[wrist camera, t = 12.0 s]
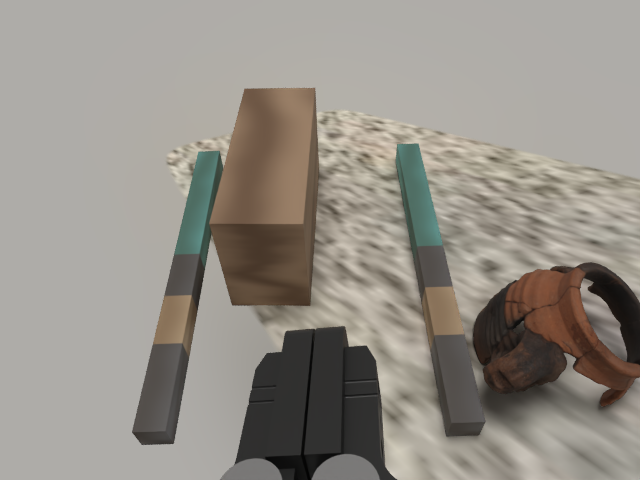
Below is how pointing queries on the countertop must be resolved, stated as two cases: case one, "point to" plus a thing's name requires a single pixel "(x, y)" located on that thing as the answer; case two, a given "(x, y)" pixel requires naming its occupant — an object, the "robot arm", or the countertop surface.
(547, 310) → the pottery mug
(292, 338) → the robot arm
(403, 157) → the lane
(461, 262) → the countertop surface
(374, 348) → the countertop surface
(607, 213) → the countertop surface
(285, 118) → the walnut block
